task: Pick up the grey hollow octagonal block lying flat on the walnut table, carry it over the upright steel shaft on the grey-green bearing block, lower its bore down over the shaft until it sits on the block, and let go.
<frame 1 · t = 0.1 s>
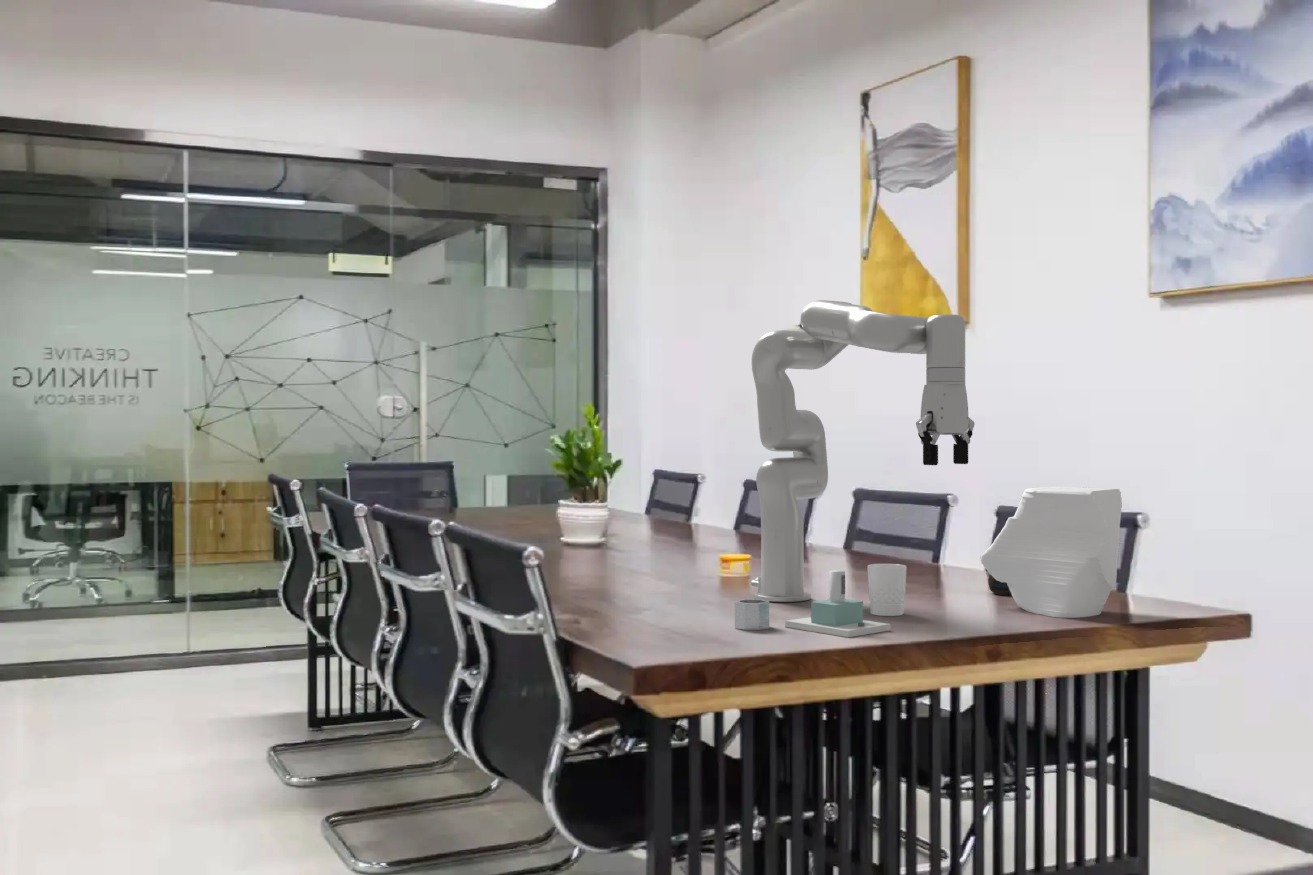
hand: (945, 464, 252), 31 cm above the table, tool pointing down, fingers open, 9 cm apart
mate gourd: (1004, 595, 293), on the table
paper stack: (1059, 610, 269), on the table
grey hollow octagonal block: (752, 627, 247), on the table
pedestal: (837, 628, 245), on the table
white cup: (887, 614, 264), on the table
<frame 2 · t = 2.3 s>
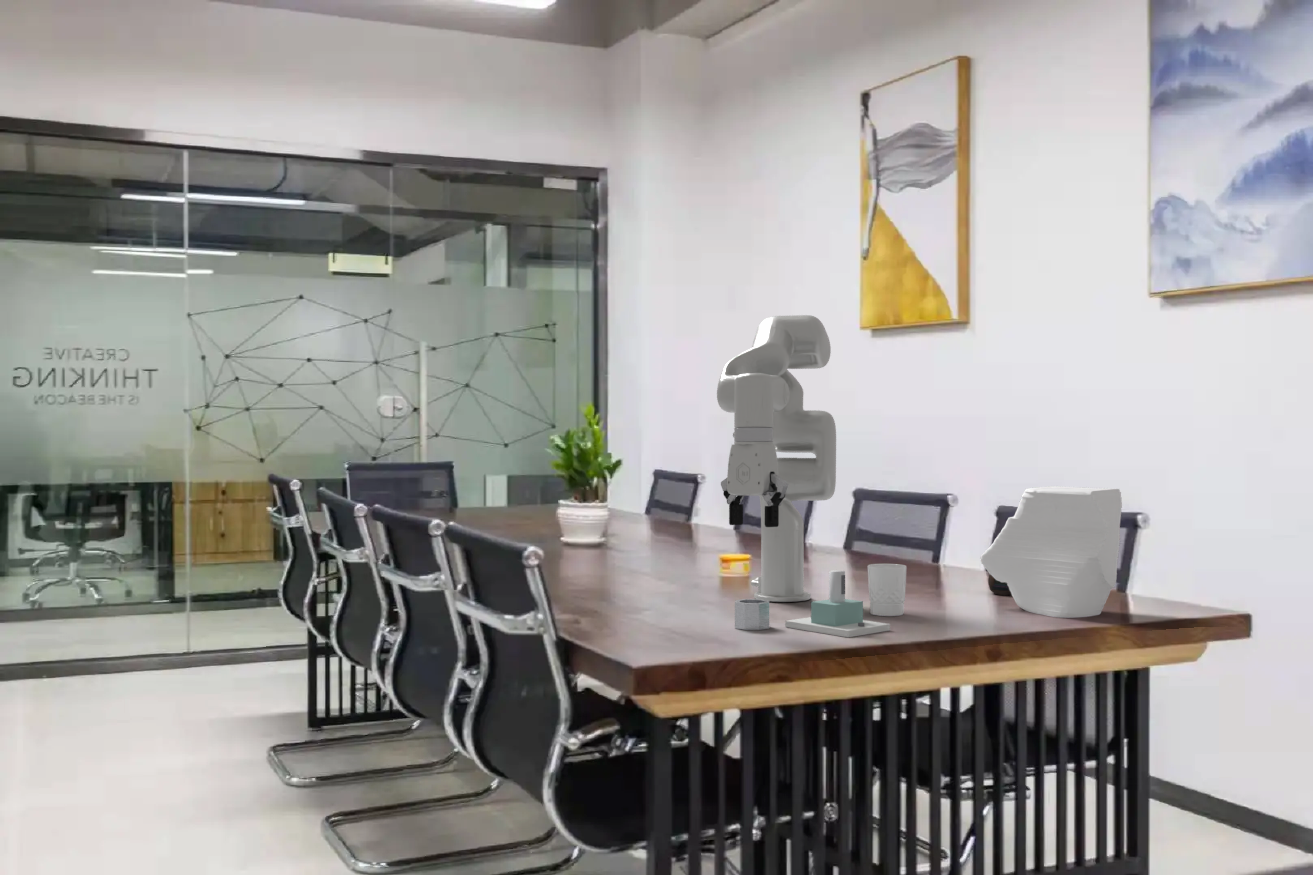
hand: (753, 525, 247), 20 cm above the table, tool pointing down, fingers open, 9 cm apart
nothing on the table moved.
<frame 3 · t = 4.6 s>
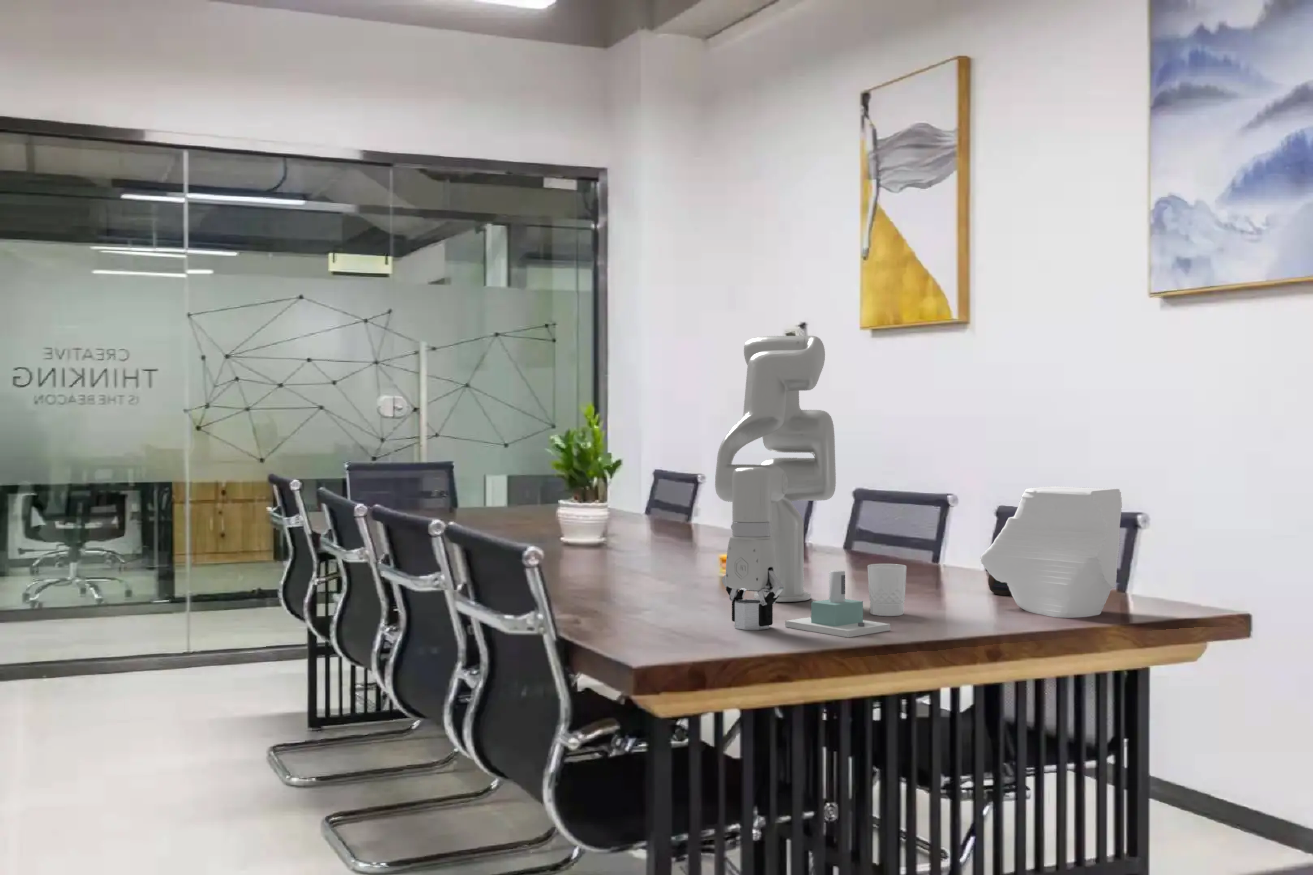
hand: (752, 622, 247), 1 cm above the table, tool pointing down, fingers closed on grey hollow octagonal block, 6 cm apart
grey hollow octagonal block: (752, 627, 247), on the table, touching gripper
everything else where it was.
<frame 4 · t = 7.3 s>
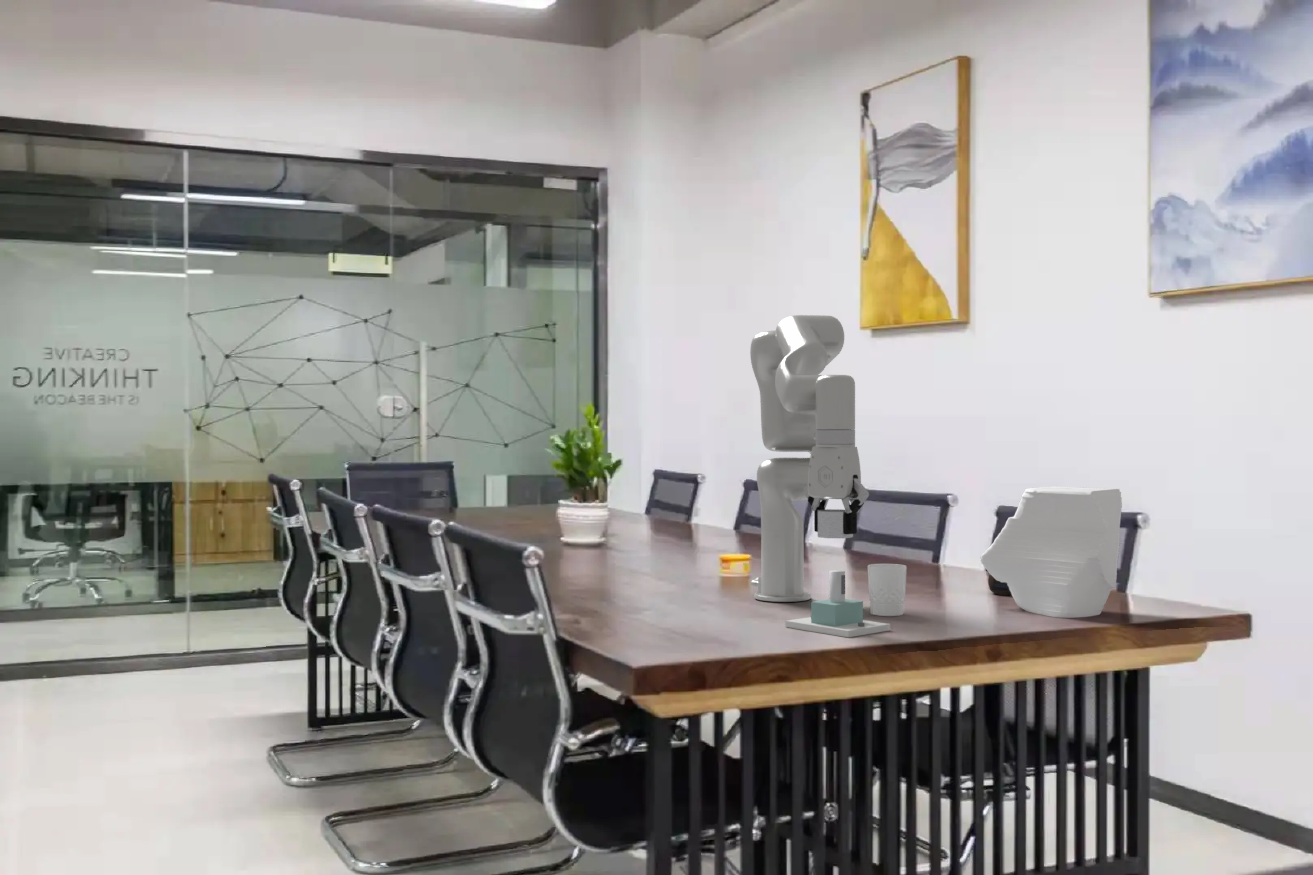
hand: (835, 531, 245), 19 cm above the table, tool pointing down, fingers closed on grey hollow octagonal block, 6 cm apart
grey hollow octagonal block: (835, 536, 245), point 18 cm above the table, touching gripper
everything else where it was.
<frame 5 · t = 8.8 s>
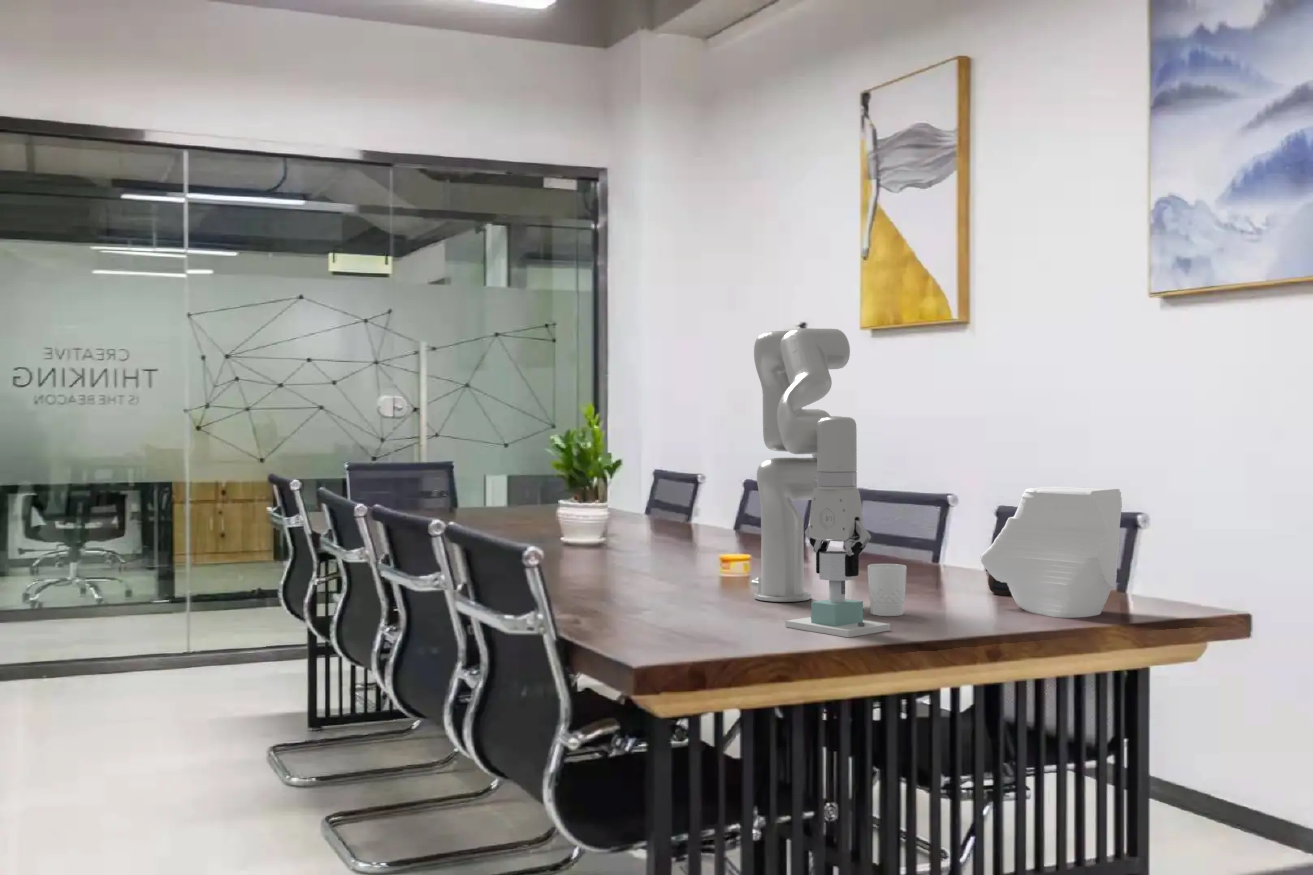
hand: (837, 573, 245), 11 cm above the table, tool pointing down, fingers closed on grey hollow octagonal block, 6 cm apart
grey hollow octagonal block: (837, 578, 245), point 10 cm above the table, touching gripper
everything else where it was.
when the fingers open (7 cm above the table, at t = 10.0 s): grey hollow octagonal block stays where it is, resting on pedestal.
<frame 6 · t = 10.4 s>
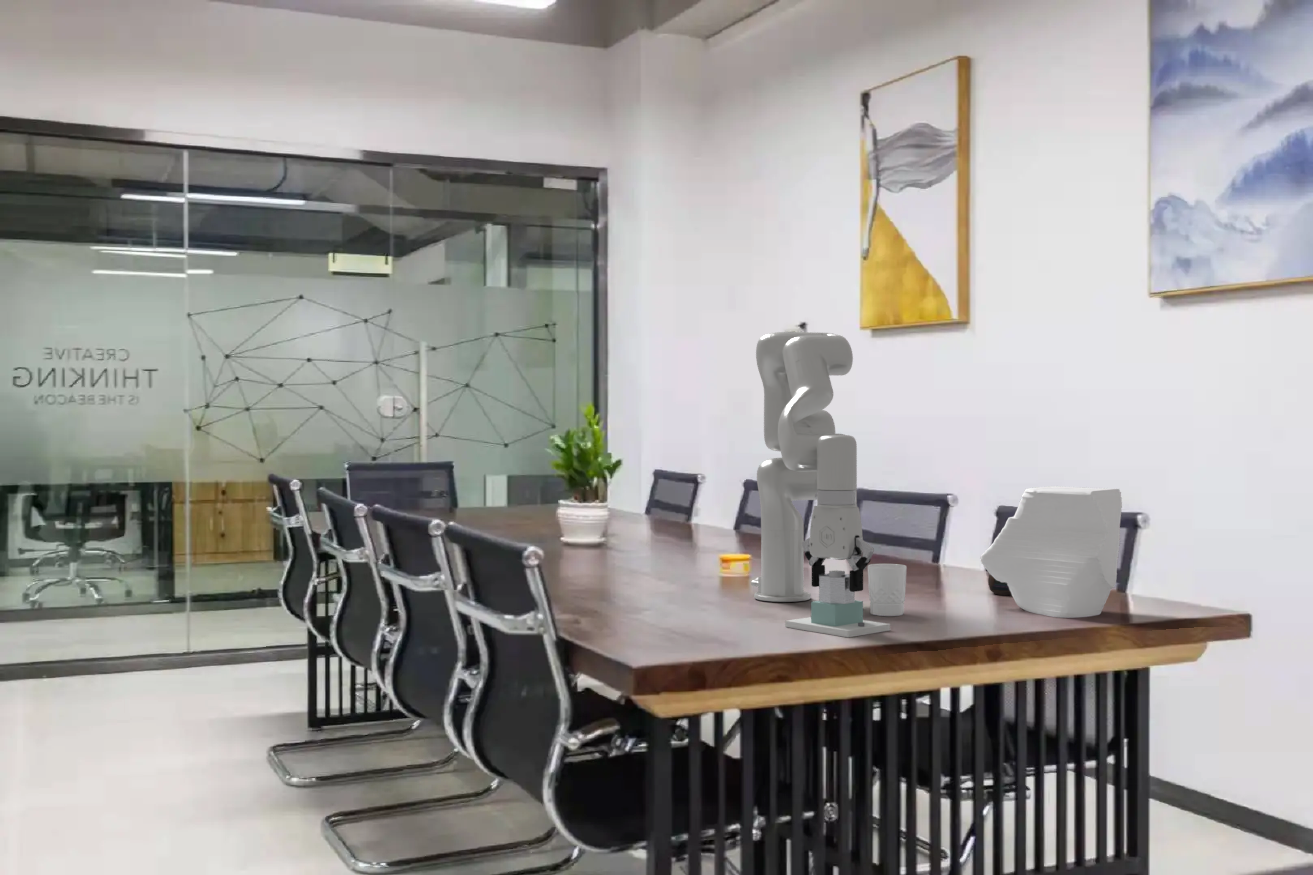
hand: (837, 588, 245), 8 cm above the table, tool pointing down, fingers open, 9 cm apart
grey hollow octagonal block: (836, 601, 245), point 5 cm above the table, touching pedestal
everything else where it was.
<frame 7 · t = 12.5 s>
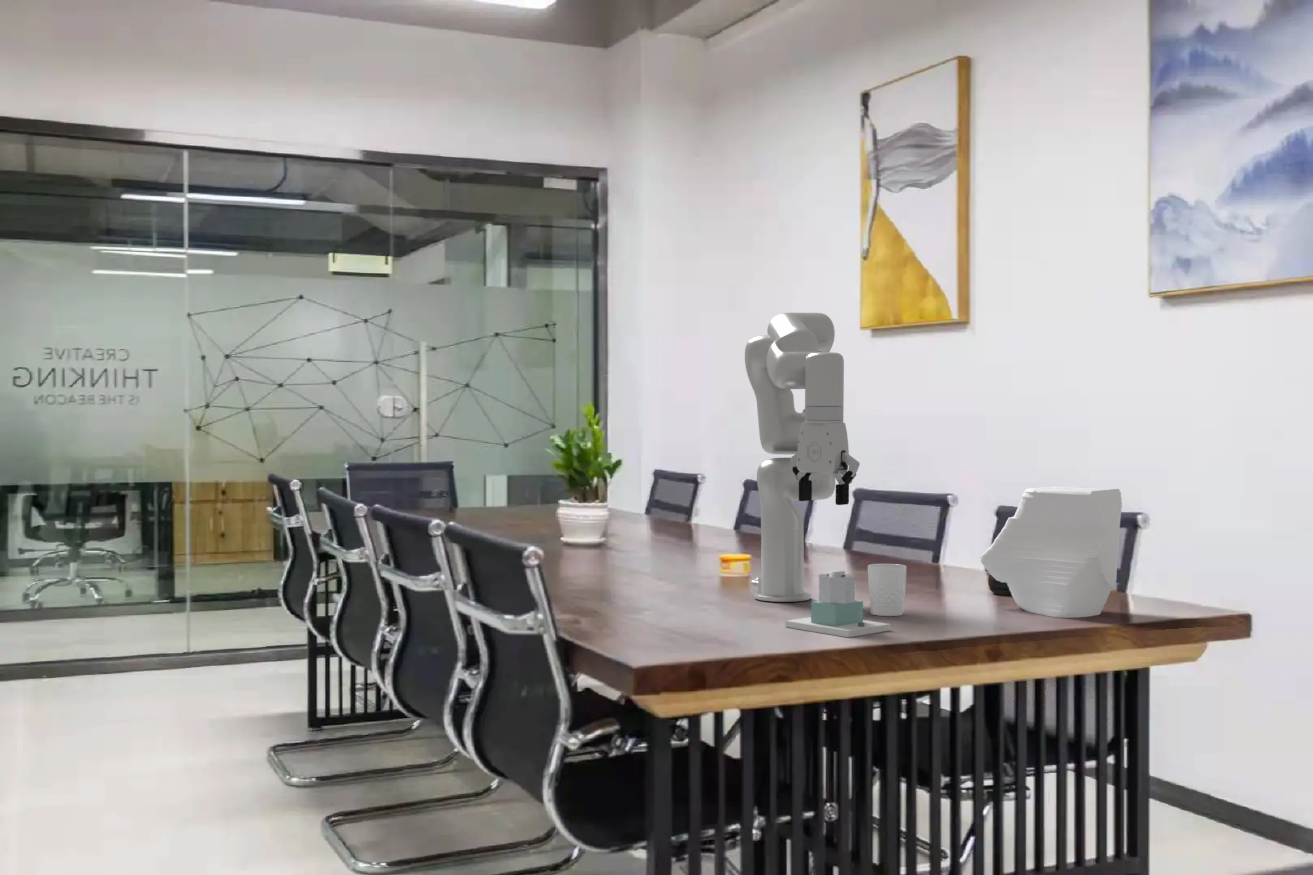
hand: (823, 502, 251), 24 cm above the table, tool pointing down, fingers open, 9 cm apart
nothing on the table moved.
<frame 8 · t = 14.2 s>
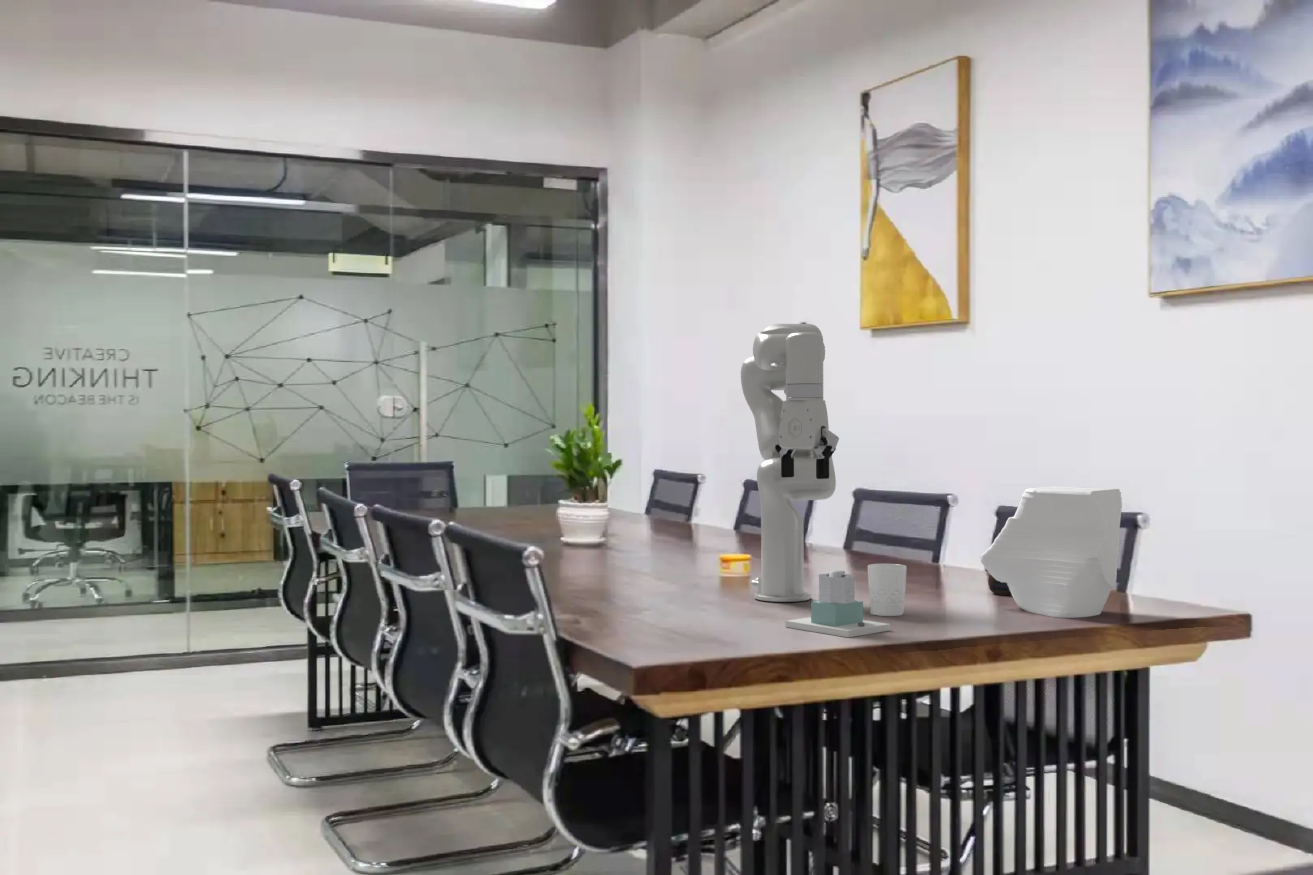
hand: (804, 477, 259), 28 cm above the table, tool pointing down, fingers open, 9 cm apart
nothing on the table moved.
at the end: grey hollow octagonal block 0.1 cm off-centre on the pedestal, point 5.2 cm above the pedestal's base; grey hollow octagonal block tilted 0°; the gripper is holding nothing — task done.
